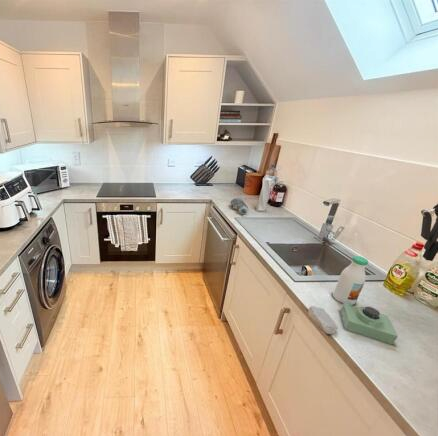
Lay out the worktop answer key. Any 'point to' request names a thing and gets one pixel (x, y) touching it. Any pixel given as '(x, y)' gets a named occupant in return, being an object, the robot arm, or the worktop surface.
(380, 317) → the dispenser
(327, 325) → the soap bar
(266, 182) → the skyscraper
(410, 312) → the worktop surface
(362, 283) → the milk bottle
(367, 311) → the black disc
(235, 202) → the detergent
